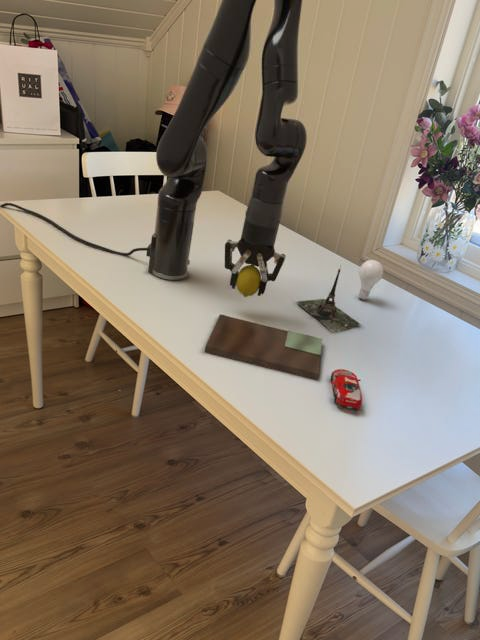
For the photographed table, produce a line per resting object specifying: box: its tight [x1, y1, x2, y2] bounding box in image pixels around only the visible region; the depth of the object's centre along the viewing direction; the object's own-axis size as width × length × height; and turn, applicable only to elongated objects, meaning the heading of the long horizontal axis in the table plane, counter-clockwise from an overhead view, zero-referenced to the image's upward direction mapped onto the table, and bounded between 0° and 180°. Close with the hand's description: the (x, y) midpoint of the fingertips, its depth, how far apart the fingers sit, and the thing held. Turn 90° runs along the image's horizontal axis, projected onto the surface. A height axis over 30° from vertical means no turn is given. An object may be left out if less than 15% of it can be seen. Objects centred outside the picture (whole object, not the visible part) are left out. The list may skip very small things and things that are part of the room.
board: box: [204, 314, 323, 381], centre depth 131 cm, size 24×16×2 cm, turn 81°
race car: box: [330, 368, 363, 411], centre depth 121 cm, size 13×5×4 cm, turn 177°
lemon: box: [236, 264, 262, 298], centre depth 138 cm, size 6×6×8 cm
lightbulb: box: [357, 259, 385, 301], centre depth 161 cm, size 6×6×11 cm
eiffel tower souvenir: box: [296, 265, 362, 333], centre depth 147 cm, size 15×10×13 cm
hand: (246, 290), depth 139 cm, fingers closed on lemon, 5 cm apart
